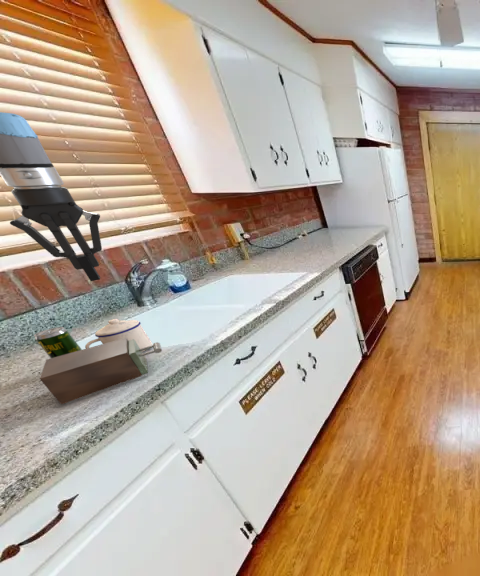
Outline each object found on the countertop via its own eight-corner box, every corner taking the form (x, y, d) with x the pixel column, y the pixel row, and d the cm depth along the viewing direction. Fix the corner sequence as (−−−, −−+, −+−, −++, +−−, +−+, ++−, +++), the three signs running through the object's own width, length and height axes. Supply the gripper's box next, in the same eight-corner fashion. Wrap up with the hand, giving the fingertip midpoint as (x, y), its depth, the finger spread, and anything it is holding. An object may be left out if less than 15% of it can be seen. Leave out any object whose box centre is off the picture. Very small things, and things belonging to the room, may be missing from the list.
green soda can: (67, 363, 90) (41, 330, 86) (94, 357, 93) (69, 324, 88) (55, 372, 86) (26, 338, 81) (83, 366, 89) (57, 332, 84)
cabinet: (141, 362, 91) (126, 337, 87) (143, 378, 84) (127, 352, 81) (67, 386, 81) (46, 359, 78) (62, 406, 75) (39, 378, 71)
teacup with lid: (150, 340, 102) (132, 310, 97) (157, 347, 97) (137, 317, 92) (94, 358, 93) (71, 327, 88) (98, 368, 88) (73, 335, 83)
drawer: (166, 352, 94) (155, 333, 91) (169, 365, 88) (157, 345, 85) (78, 380, 82) (62, 359, 79) (75, 397, 76) (58, 375, 73)
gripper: (-19, 190, 62) (51, 290, 72) (83, 186, 72) (133, 275, 81) (-10, 188, 67) (55, 282, 76) (85, 184, 76) (132, 269, 86)
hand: (95, 279), depth 79 cm, fingers closed
